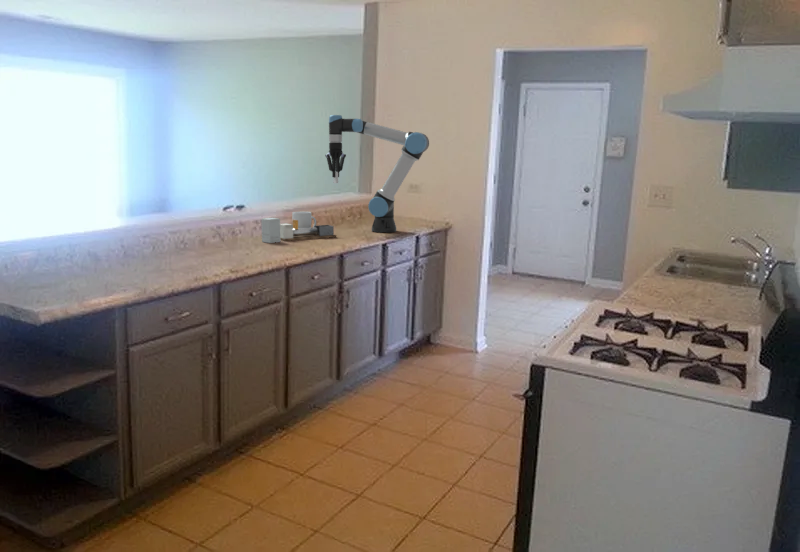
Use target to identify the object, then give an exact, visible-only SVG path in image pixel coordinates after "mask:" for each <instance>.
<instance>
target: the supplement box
mask: <svg viewBox="0 0 800 552" xmlns="http://www.w3.org/2000/svg"><path fill="white" fill-rule="evenodd" d="M260 220H261V242H262V243H267V244H273V243H274V244H275V242H276V243H280V242H281V241H282V240H281V239H280V224H281V219H280V218H277V217H276V218H275V217H266V218H265V217H264V218H261V219H260Z"/></svg>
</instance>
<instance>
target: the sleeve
mask: <svg viewBox="0 0 800 552" xmlns="http://www.w3.org/2000/svg"><path fill="white" fill-rule="evenodd" d="M313 226H314V225H313ZM314 227H316V228H317V231H318V232H317V235H319V236H328V235H335V234H334V231H335V230H334V227H335V226H334V225H331V224H322V225H321V224H320V225H316V226H314Z"/></svg>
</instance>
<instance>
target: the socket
mask: <svg viewBox="0 0 800 552" xmlns="http://www.w3.org/2000/svg"><path fill="white" fill-rule="evenodd" d="M280 238H283V239H289V238H293V224H291V223H280Z"/></svg>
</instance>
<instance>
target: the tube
mask: <svg viewBox="0 0 800 552" xmlns="http://www.w3.org/2000/svg"><path fill="white" fill-rule="evenodd" d="M292 225H293V236H305V235H317V232H318V231H317V228H316V227H313V226H311V228H298V220H293V221H292Z"/></svg>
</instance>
